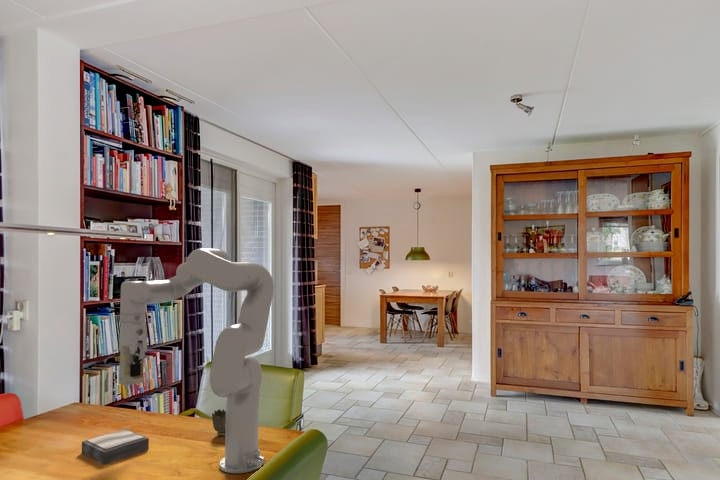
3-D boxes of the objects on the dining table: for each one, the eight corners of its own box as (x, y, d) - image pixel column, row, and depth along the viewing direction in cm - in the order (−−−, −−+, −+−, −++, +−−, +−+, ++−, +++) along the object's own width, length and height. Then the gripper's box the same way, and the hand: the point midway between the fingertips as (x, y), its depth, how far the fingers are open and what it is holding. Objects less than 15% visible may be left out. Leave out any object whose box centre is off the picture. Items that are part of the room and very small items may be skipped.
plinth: (148, 449, 151) (148, 436, 151) (103, 464, 140) (104, 450, 140) (125, 439, 159) (125, 427, 160) (81, 453, 148) (82, 440, 148)
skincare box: (124, 386, 150) (125, 347, 151) (118, 384, 153) (119, 346, 153) (144, 382, 155) (145, 344, 156) (137, 380, 158) (138, 343, 158)
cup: (227, 440, 159) (227, 416, 160) (207, 438, 161) (207, 414, 161) (237, 432, 167) (237, 409, 167) (218, 430, 168) (218, 408, 169)
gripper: (157, 319, 153) (155, 376, 152) (131, 315, 163) (129, 369, 162) (134, 321, 147) (132, 381, 146) (108, 317, 157) (107, 373, 156)
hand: (131, 374), depth 154 cm, fingers closed on skincare box, 4 cm apart
